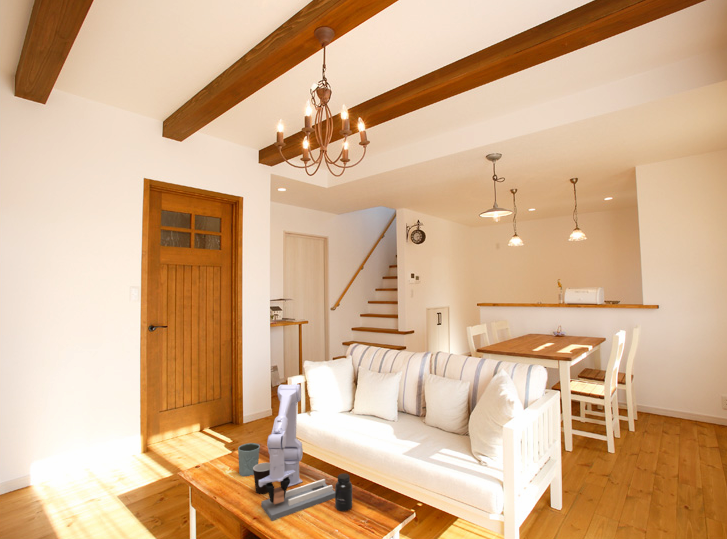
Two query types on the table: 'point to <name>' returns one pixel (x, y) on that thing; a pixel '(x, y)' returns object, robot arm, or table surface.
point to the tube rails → (307, 495)
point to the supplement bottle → (343, 493)
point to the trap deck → (284, 509)
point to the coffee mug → (261, 476)
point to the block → (278, 495)
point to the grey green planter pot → (248, 458)
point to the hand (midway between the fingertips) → (277, 499)
